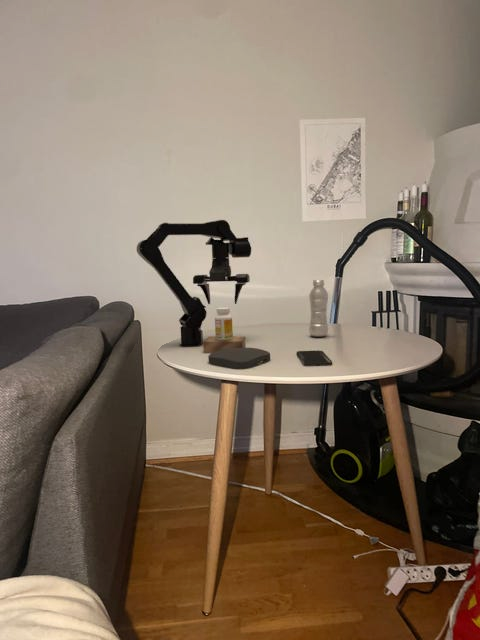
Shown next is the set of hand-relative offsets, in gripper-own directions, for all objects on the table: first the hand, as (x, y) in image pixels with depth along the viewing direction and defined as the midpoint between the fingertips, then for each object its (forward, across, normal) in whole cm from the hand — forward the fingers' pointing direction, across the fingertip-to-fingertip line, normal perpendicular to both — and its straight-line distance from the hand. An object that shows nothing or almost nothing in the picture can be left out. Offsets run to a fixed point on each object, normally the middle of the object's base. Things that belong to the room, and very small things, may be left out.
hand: (222, 304), depth 148 cm
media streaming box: (+14, +10, -28) cm, 33 cm away
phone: (+14, +30, -25) cm, 42 cm away
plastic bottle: (+13, +33, +8) cm, 36 cm away
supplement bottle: (+10, +3, -14) cm, 17 cm away
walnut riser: (+13, +3, -14) cm, 19 cm away
